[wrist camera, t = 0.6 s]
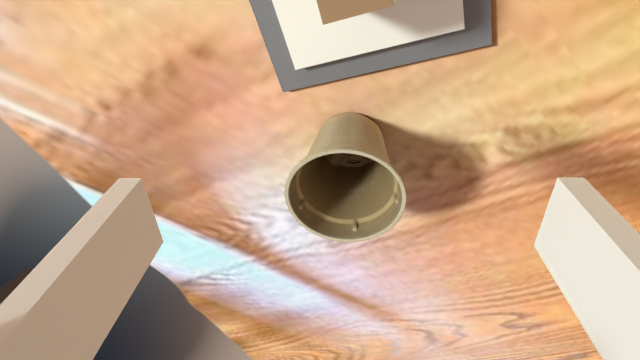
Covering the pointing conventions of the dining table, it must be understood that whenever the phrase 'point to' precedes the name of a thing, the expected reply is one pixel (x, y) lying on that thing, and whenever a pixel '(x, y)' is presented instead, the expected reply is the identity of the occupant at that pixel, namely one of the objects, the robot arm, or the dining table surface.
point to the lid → (360, 25)
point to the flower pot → (346, 183)
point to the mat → (432, 47)
